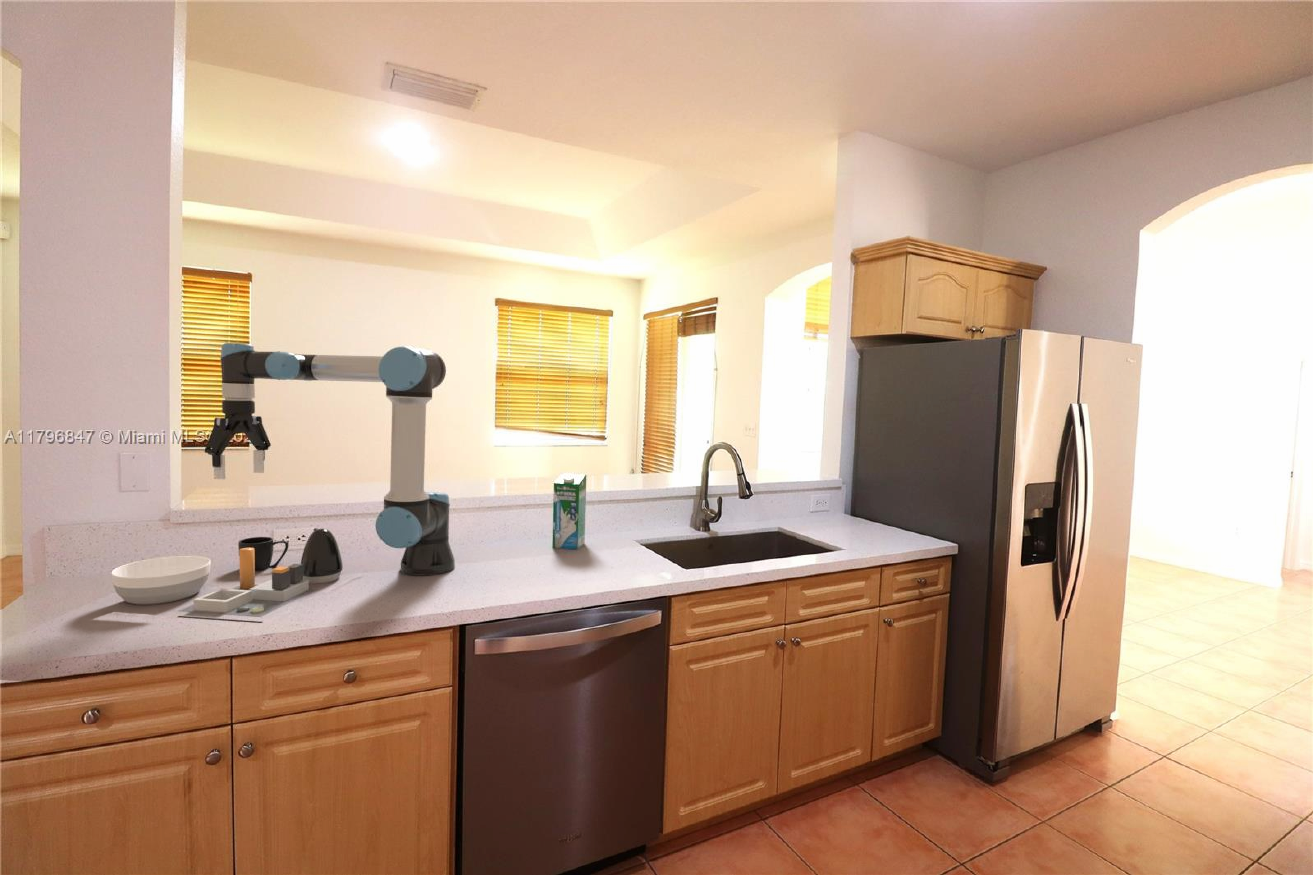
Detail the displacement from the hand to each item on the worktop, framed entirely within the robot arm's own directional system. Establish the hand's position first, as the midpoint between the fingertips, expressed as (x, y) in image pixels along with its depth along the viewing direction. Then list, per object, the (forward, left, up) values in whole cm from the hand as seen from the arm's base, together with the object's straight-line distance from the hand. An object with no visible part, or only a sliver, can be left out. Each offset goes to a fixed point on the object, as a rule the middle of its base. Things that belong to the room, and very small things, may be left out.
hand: (240, 475), depth 172 cm
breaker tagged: (-27, +22, -23) cm, 42 cm away
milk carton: (-83, -49, -28) cm, 100 cm away
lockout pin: (-14, +16, -26) cm, 33 cm away
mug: (-6, -1, -28) cm, 28 cm away
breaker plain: (-27, +17, -23) cm, 40 cm away
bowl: (+1, +24, -28) cm, 37 cm away
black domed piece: (-27, +5, -28) cm, 39 cm away
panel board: (-21, +23, -28) cm, 42 cm away
